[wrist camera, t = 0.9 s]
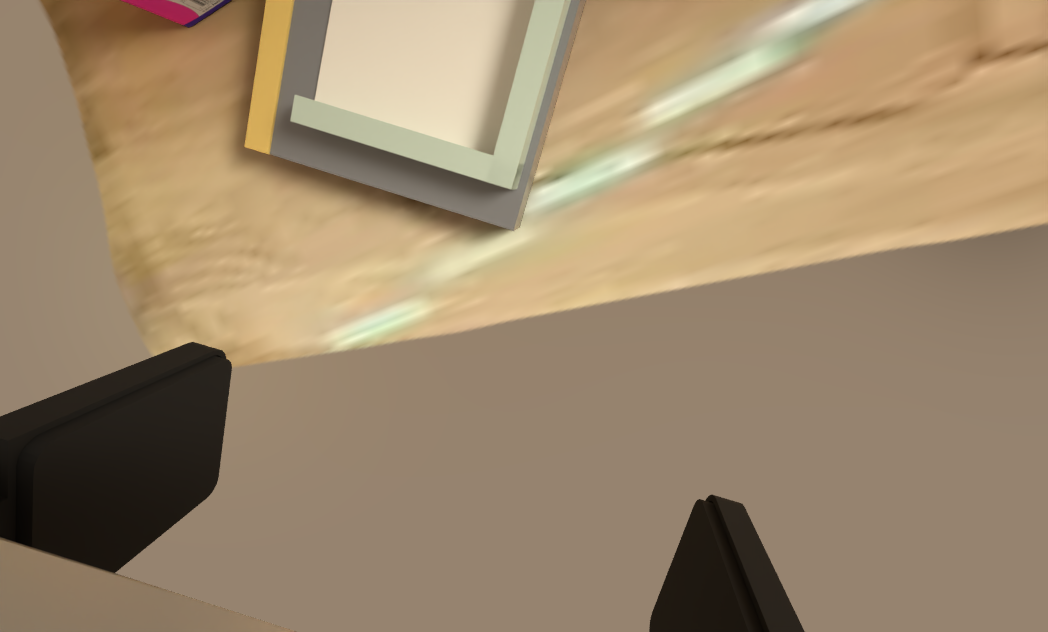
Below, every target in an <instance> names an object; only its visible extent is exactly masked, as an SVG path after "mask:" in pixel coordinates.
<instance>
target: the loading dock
mask: <svg viewBox="0 0 1048 632" xmlns="http://www.w3.org/2000/svg"><path fill="white" fill-rule="evenodd" d="M585 2H586V0H266V5H265V11H264V18H263V25H262V32H261V38H260V45H259V52H258V58H257V65H256V72H255V79H254V85H253V92H252V99H251V106H250V112H249V119H248V126H247V133H246V139H245V146H244V147H246V148H250V149H253V150H256V151H259V152H262V153H266V154H270V155H273V156H276V157H280V158H283V159H286V160H289V161H292V162H296V163H299V164H302V165H305V166H308V167H311V168H315V169H318V170H321V171H324V172H327V173H331V174H334V175H337V176H340V177H343V178H347V179H350V180H353V181H356V182H359V183H362V184H366V185H369V186H372V187H375V188H378V189H382V190H385V191H388V192H391V193H394V194H398V195H401V196H404V197H407V198H410V199H413V200H417V201H420V202H423V203H426V204H429V205H433V206H436V207H439V208H442V209H445V210H449V211H452V212H455V213H458V214H461V215H464V216H468V217H471V218H474V219H477V220H480V221H484V222H487V223H490V224H493V225H496V226H499V227H503V228H506V229H509V230H512V231H514V230H516V229H517V228H519V227H520V224H521V221H522V217H523V214H524V210H525V207H526V204H527V200H528V197H529V193H530V190H531V186H532V183H533V180H534V176H535V173H536V169H537V166H538V163H539V159H540V156H541V152H542V149H543V145H544V142H545V139H546V135H547V132H548V128H549V125H550V121H551V118H552V115H553V111H554V108H555V104H556V101H557V97H558V94H559V91H560V87H561V84H562V80H563V77H564V73H565V70H566V67H567V63H568V60H569V56H570V53H571V49H572V46H573V43H574V39H575V36H576V32H577V29H578V25H579V22H580V19H581V15H582V12H583V8H584V5H585Z"/></svg>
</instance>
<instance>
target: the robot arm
mask: <svg viewBox="0 0 1048 632" xmlns="http://www.w3.org/2000/svg"><path fill="white" fill-rule="evenodd" d="M231 371H232V365H231V362H230V361H229V360H227V359H226V356H225V353H224V352H223V351H222V350H219V349H215V348H212V347H208V346H205V345H202V344H198V343H195V342H191V343H187V344H185V345H182V346H180V347H177V348H175V349H172V350H169V351H167V352H164V353H162V354H159V355H157V356H154V357H152V358H149V359H146V360H144V361H141V362H139V363H136V364H134V365H131V366H128V367H126V368H124V369H121V370H118V371H116V372H114V373H111V374H108V375H105V376H103V377H100V378H98V379H95V380H93V381H90V382H88V383H85V384H83V385H80V386H77V387H75V388H72V389H70V390H67V391H65V392H62V393H60V394H57V395H54V396H52V397H49V398H47V399H44V400H42V401H39V402H36V403H34V404H32V405H29V406H26V407H24V408H21V409H18V410H16V411H13V412H11V413H8V414H6V415H3V416H1V417H0V632H296V631H293V630H290V629H287V628H283V627H280V626H277V625H274V624H271V623H268V622H265V621H262V620H259V619H256V618H253V617H249V616H246V615H243V614H240V613H237V612H234V611H231V610H228V609H225V608H221V607H218V606H215V605H212V604H209V603H206V602H203V601H200V600H197V599H193V598H190V597H187V596H184V595H181V594H178V593H175V592H172V591H168V590H166V589H162V588H159V587H156V586H153V585H150V584H147V583H143V582H140V581H137V580H134V579H131V578H128V577H125V576H121V575H118V574H115V572H117V571H118V570H119V569H120V568H121V567H123V566H124V565H125V564H126V563H127V562H129V561H130V560H131V559H133V558H134V557H135V556H136V555H137V554H138V553H140V552H141V551H142V550H143V549H145V548H146V547H147V546H148V545H150V544H151V543H152V542H153V541H155V540H156V539H157V538H158V537H160V536H161V535H162V534H163V533H164V532H166V531H167V530H168V529H169V528H171V527H172V526H173V525H174V524H176V523H177V522H178V521H179V520H180V519H182V518H183V517H184V516H185V515H187V514H188V513H189V512H190V511H191V510H193V509H194V508H195V507H196V506H198V504H200V503H201V502H202V501H204V500H205V499H206V498H207V497H208V496H209V495H210V494H211V493H212V491H213V490H214V488H215V486H216V484H217V481H218V477H219V468H220V460H221V452H222V444H223V436H224V428H225V419H226V411H227V402H228V395H229V387H230V379H231ZM650 632H804V630H803V628H802V625H801V623H800V621H799V619H798V617H797V615H796V613H795V611H794V609H793V607H792V605H791V603H790V601H789V598H788V597H787V595H786V592H785V590H784V588H783V586H782V584H781V582H780V580H779V578H778V576H777V573H776V572H775V569H774V567H773V565H772V563H771V561H770V559H769V557H768V555H767V553H766V551H765V549H764V546H763V544H762V542H761V540H760V538H759V536H758V534H757V532H756V530H755V528H754V526H753V524H752V522H751V519H750V517H749V516H748V513H747V511H746V509H745V507H744V506H743V504H741V503H738V502H735V501H731V500H728V499H725V498H721V497H718V496H714V495H710V496H708V498H707V499H706V501H704V500H700V499H699V500H697V501H696V503H695V505H694V507H693V509H692V512H691V514H690V517H689V520H688V522H687V525H686V527H685V530H684V532H683V535H682V537H681V540H680V543H679V545H678V548H677V551H676V553H675V555H674V558H673V561H672V563H671V566H670V568H669V571H668V573H667V576H666V579H665V581H664V584H663V586H662V589H661V591H660V594H659V596H658V599H657V602H656V604H655V607H654V609H653V612H652V615H651V620H650Z"/></svg>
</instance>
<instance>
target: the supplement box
mask: <svg viewBox="0 0 1048 632" xmlns="http://www.w3.org/2000/svg"><path fill="white" fill-rule="evenodd" d="M121 1H124V2H126V3H129V4H131V5H134V6H136V7H139V8H141V9H144V10H146V11H149V12H151V13H154V14H156V15H159V16H161V17H164V18H166V19H169V20H171V21H173V22H176V23H179V24H181V25H184V26H186V27H192V26H193V25H195V24H196V23H198V22H199V21H201V20H203V19H204V18H206V17H207V16H209V15H210V14H212V13H213V12H215V11H216V10H218V9H219V8H221V7H222V6H224V5H225V4H227V3H228V2H230V1H231V0H121Z"/></svg>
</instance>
